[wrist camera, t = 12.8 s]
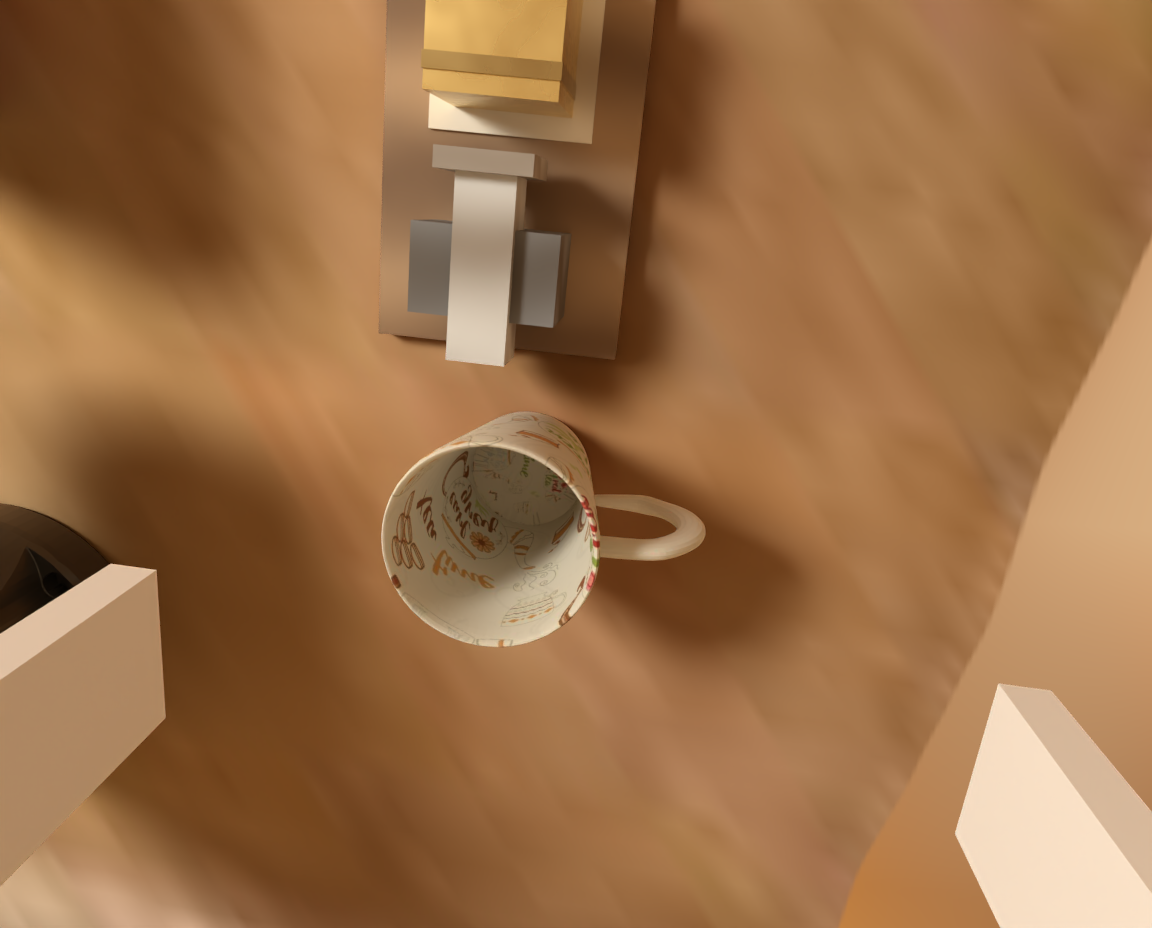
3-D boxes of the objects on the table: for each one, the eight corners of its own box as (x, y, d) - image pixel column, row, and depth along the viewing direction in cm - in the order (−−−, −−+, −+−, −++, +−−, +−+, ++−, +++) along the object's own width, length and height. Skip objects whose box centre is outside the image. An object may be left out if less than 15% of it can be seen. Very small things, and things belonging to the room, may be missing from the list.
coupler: (462, -56, 33) (427, -104, 28) (588, -45, 32) (576, -92, 27) (453, 106, 34) (420, 88, 29) (573, 118, 34) (559, 101, 29)
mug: (446, 380, 39) (378, 432, 30) (710, 401, 38) (727, 462, 29) (444, 540, 42) (381, 637, 32) (691, 564, 41) (702, 670, 31)
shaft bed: (616, 356, 38) (608, 382, 32) (385, 330, 39) (336, 350, 33) (694, -339, 30) (703, -474, 24) (404, -356, 31) (344, -492, 25)
